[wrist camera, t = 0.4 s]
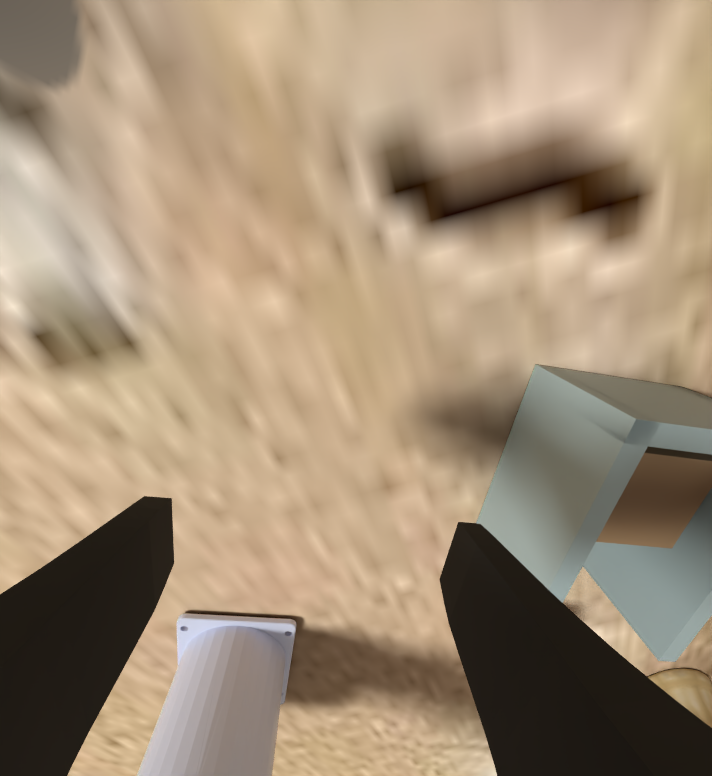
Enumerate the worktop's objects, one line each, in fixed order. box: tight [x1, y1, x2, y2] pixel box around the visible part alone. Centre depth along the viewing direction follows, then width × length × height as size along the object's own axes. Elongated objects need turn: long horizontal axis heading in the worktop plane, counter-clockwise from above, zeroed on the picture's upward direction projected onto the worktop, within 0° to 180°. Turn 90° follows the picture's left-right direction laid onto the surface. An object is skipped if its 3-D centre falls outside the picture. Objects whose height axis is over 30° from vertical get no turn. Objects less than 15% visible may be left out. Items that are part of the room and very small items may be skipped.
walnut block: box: [596, 447, 712, 549], centre depth 20 cm, size 18×5×5 cm, turn 170°
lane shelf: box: [476, 364, 712, 662], centre depth 18 cm, size 13×9×6 cm
